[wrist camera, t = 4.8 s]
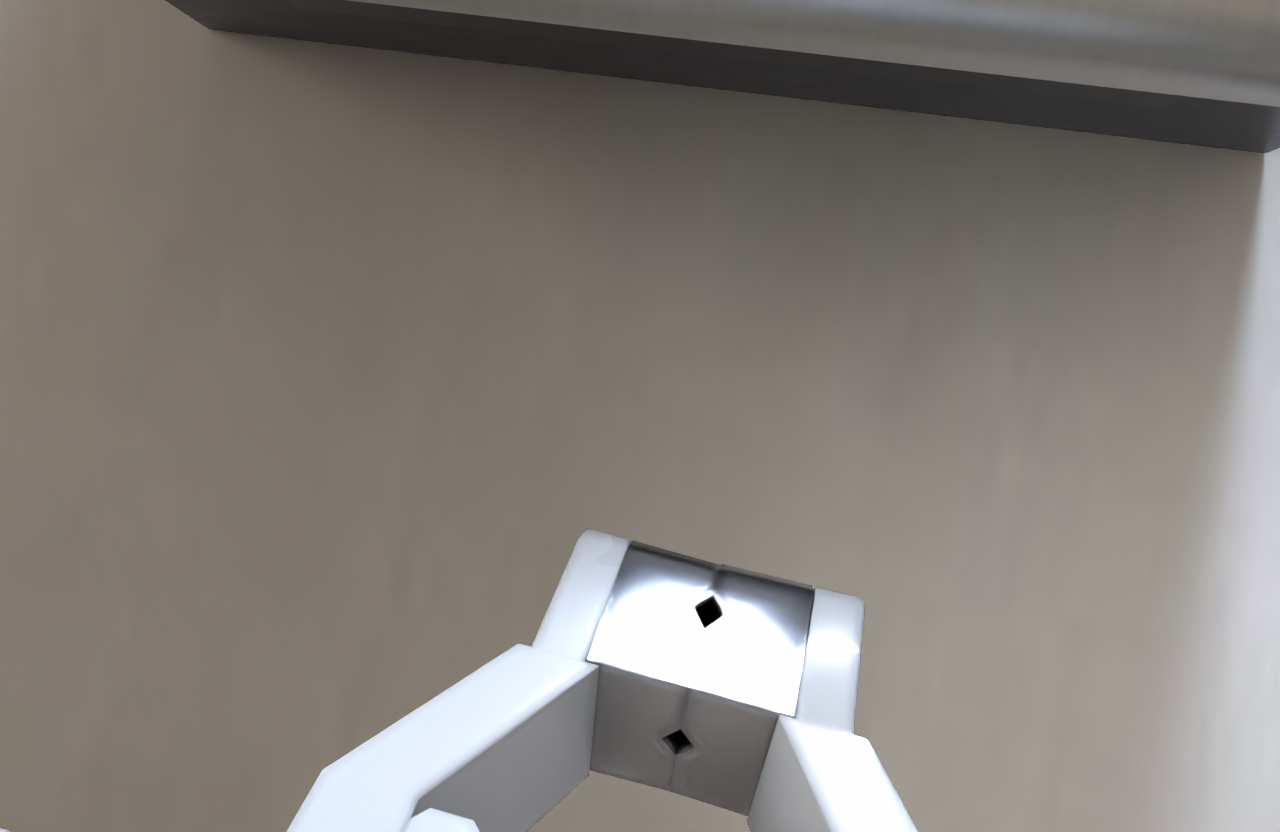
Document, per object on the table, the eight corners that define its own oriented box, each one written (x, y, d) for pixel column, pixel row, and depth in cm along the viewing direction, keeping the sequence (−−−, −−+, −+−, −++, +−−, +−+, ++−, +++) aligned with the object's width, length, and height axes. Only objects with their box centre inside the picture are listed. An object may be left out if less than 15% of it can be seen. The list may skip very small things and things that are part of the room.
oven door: (1238, 305, 34) (2750, 144, 9) (193, 170, 37) (-951, -248, 12) (1274, 109, 34) (2978, -658, 8) (212, -13, 37) (-938, -871, 11)
